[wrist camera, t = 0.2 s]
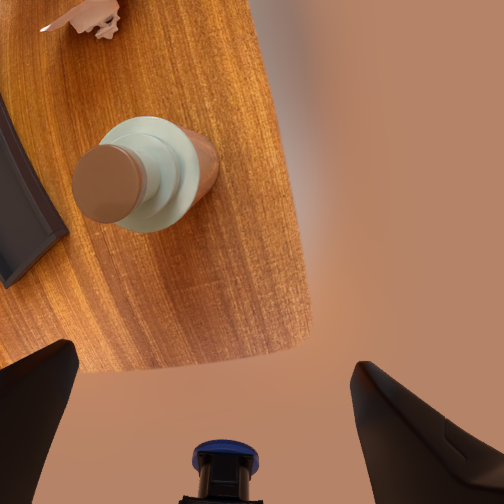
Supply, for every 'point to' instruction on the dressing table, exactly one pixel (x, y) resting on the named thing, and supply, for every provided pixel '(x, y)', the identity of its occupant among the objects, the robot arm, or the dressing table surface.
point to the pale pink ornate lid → (90, 18)
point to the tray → (22, 209)
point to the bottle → (144, 174)
